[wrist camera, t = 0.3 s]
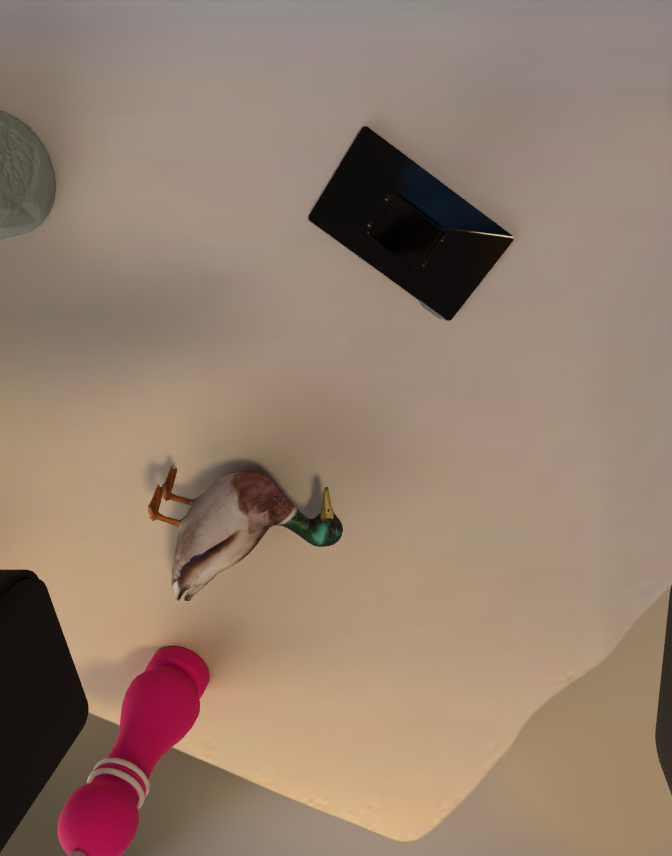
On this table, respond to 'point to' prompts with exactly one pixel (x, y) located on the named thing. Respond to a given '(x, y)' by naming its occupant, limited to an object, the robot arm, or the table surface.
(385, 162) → the build plate
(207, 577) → the decorative duck model
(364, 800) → the table surface
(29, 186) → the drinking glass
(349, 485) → the table surface
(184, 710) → the pepper mill
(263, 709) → the table surface
